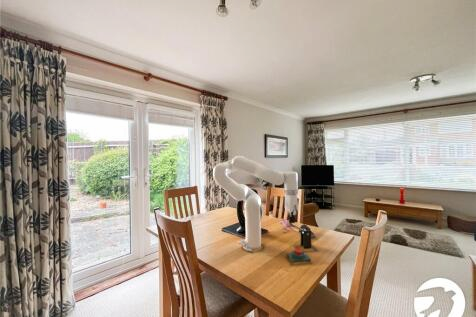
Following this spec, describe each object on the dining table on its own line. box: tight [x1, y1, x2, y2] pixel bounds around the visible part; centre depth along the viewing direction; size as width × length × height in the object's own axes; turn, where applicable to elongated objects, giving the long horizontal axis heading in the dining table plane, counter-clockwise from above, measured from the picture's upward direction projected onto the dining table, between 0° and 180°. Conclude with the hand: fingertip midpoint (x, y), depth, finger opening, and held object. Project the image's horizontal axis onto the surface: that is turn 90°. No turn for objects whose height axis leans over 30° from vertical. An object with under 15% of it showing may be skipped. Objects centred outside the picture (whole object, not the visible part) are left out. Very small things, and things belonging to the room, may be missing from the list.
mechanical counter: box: [298, 224, 317, 239], centre depth 140 cm, size 7×13×10 cm
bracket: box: [300, 228, 312, 250], centre depth 122 cm, size 10×8×12 cm
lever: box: [290, 223, 305, 233], centre depth 121 cm, size 12×5×2 cm, turn 98°
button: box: [294, 248, 303, 255], centre depth 109 cm, size 4×4×2 cm
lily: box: [279, 217, 297, 231], centre depth 150 cm, size 12×12×10 cm
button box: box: [286, 249, 312, 263], centre depth 109 cm, size 10×8×4 cm
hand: (291, 222), depth 121 cm, fingers closed
